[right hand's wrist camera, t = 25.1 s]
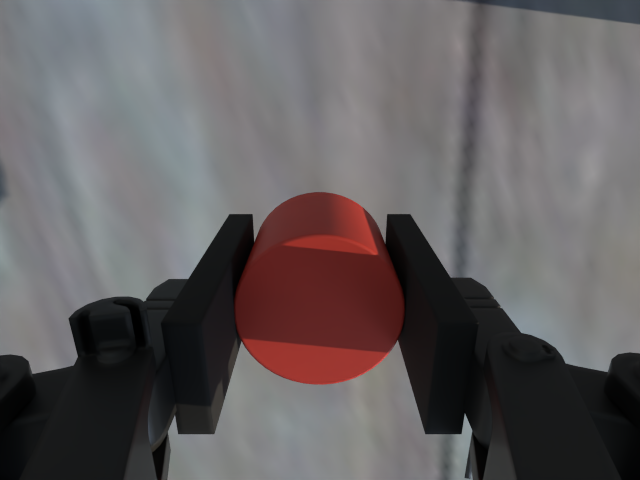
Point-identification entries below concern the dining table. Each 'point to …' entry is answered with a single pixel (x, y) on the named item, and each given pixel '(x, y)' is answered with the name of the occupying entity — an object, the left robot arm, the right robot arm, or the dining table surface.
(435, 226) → the dining table surface
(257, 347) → the canister
